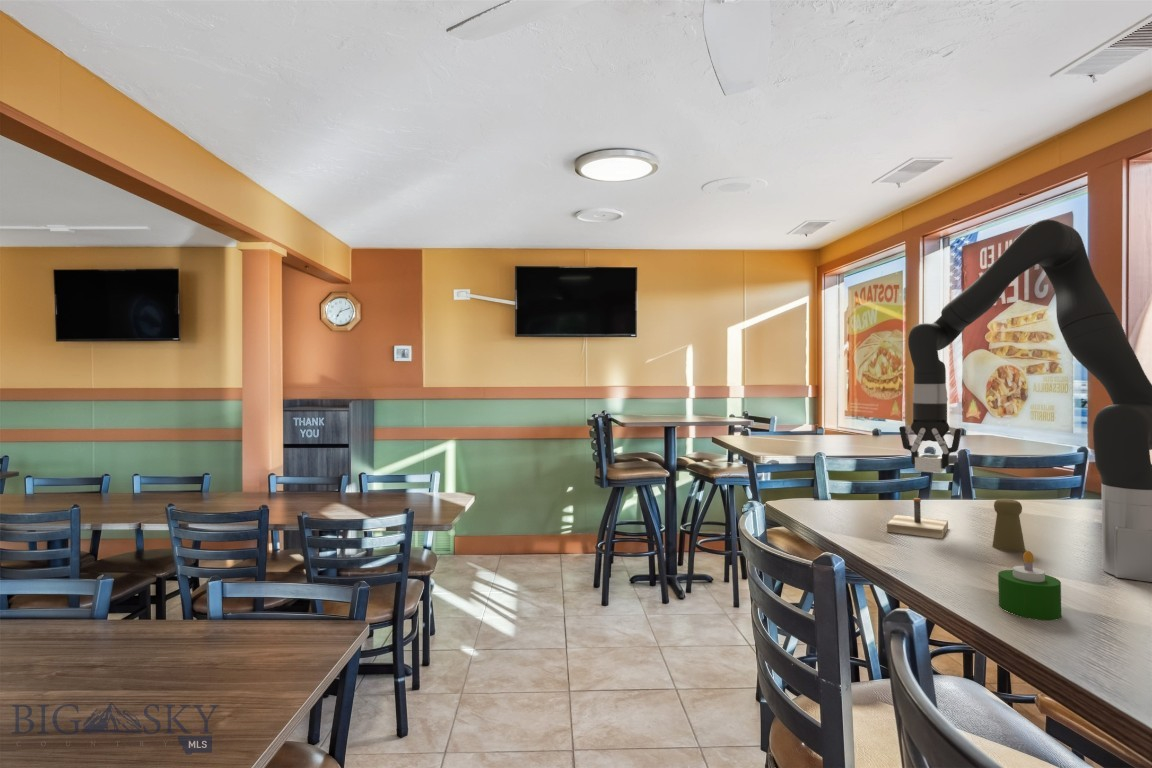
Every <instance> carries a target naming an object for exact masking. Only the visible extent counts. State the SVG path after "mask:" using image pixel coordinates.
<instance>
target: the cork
mask: <svg viewBox="0 0 1152 768" xmlns="http://www.w3.org/2000/svg"><path fill="white" fill-rule="evenodd" d="M993 509H994V512H995V513H996V519H995V525H994V533H993V538H992V539H993V540H992V547H993V548H994V549H997V550H1001V551H1005V552H1013V553H1014V552H1016V553H1017V552H1018V553H1019V552H1020V553H1021V552H1026V546H1025V542H1024V541H1025V540H1024V534H1023V530H1022V529H1023V528H1022V524H1021V518H1020V515H1021V514H1022V512H1023V506H1022V504H1021V502H1020V501H1018V500H1015V499H1010V498H999V499H996V500H994V503H993Z"/></svg>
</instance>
